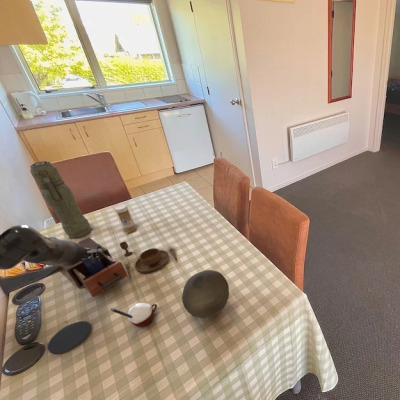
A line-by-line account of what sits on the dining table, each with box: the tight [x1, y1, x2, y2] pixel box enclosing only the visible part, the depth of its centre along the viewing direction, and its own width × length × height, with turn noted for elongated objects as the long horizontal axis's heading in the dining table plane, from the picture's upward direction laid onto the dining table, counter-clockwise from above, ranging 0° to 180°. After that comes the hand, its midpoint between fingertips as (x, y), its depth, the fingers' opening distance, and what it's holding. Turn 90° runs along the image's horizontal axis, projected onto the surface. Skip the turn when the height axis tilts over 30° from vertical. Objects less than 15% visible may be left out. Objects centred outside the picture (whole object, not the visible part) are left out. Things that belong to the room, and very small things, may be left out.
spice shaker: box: [82, 247, 105, 276], centre depth 94 cm, size 4×4×13 cm
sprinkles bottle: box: [114, 204, 137, 234], centre depth 121 cm, size 5×5×13 cm
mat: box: [47, 320, 92, 355], centre depth 79 cm, size 10×10×1 cm
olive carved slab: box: [29, 160, 93, 240], centre depth 115 cm, size 9×12×35 cm
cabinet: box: [56, 236, 113, 290], centre depth 101 cm, size 15×13×9 cm
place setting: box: [119, 241, 178, 279], centre depth 107 cm, size 18×20×6 cm
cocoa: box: [110, 302, 158, 328], centre depth 80 cm, size 10×6×12 cm, turn 128°
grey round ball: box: [181, 269, 230, 319], centre depth 83 cm, size 14×14×15 cm
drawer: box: [71, 253, 129, 298], centre depth 95 cm, size 18×11×7 cm, turn 59°
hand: (93, 256), depth 94 cm, fingers closed on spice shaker, 4 cm apart
